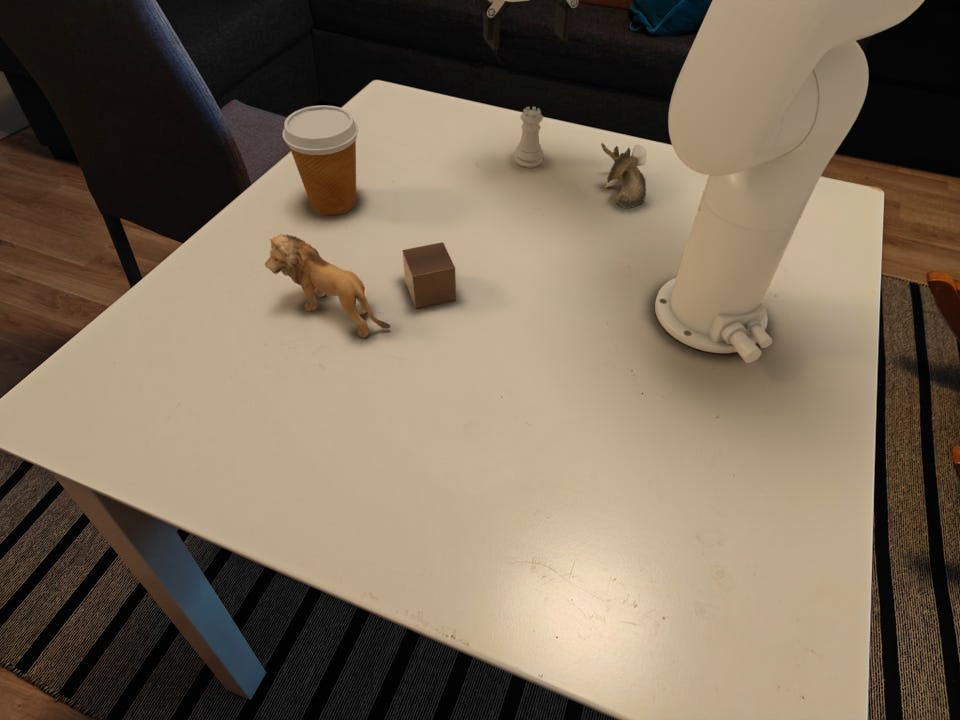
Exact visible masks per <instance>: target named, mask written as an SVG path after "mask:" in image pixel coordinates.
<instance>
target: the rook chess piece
mask: <svg viewBox="0 0 960 720" xmlns="http://www.w3.org/2000/svg"><path fill="white" fill-rule="evenodd" d="M543 119H544V116H543V115H542V111H541V109H540V108H539V107H538V108H537V107H536V106H532V109H531V107H530V106H527V107H525V108H523V110H522V113H521V115H520V120H521V121H522V124H521V126H520V127H521V129H522V130H521V131H522V132H521V137H520V140H519V141H520V142H519V143H518V145H517V147H516V148H515V150H514V156H513V159H514V161H515V163H516V164H517V165H518V166H520V167H521V168H527V169H533V168H536V167H539V166H540V165H541V164H542V163H543V161H544V150H543V148H542V145H541V144H540V130H541V125H540V123H541V122H542V121H543Z"/></svg>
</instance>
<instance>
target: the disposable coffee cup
mask: <svg viewBox="0 0 960 720" xmlns="http://www.w3.org/2000/svg"><path fill="white" fill-rule="evenodd" d="M283 124H284V126H283V130H282V138H283V141H284V142H285V143H286V145H287V146H288V147H289V150H290V151H291V155H292V157H293V160H294V163H295V165H296V168H297V171H298V173H299V176H300V179H301V182H302V184H303V187H304V190H305V192H306V193H305V194H306V196H307V198H308V202H309V203H310V206H311V209H312V210H313V211H314V212H316V213H318V214H320V215H324V216H337V215H342V214H345V213H347V212H349V211H351V210H352V209H353V208H354V207H355V206H356V205H357V144H356V143H357V142H356V140H357V137H358V133H359V126H358V123H357V122H356V121H355V119H354V117H353V115H352V114H351V113H350V112H349V111H348V110H347V109H345V108H342V107H339V106H335V105H324V104H323V105H321V104H320V105H311V106H306V107H303V108H300V109H298V110H295V111H293V112H292V113H290V114H289V115H288V116H286V119H285V120H284V123H283Z"/></svg>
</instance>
